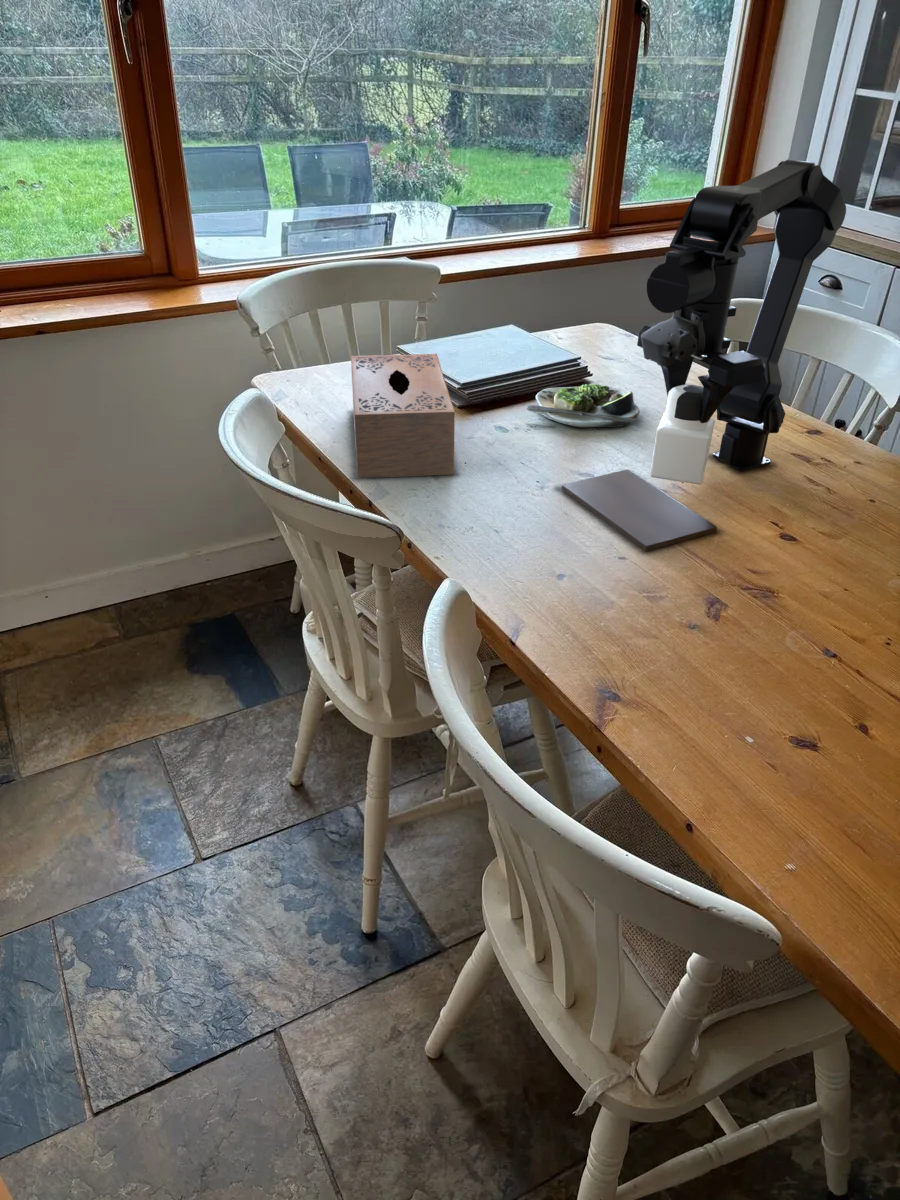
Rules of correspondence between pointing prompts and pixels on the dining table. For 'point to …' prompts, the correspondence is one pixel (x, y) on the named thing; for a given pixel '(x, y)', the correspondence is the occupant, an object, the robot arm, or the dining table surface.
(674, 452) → the medicine bottle
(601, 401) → the salad plate
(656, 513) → the walnut mat
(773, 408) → the robot arm
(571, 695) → the dining table surface
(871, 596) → the dining table surface
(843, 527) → the dining table surface
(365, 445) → the tissue box cover
